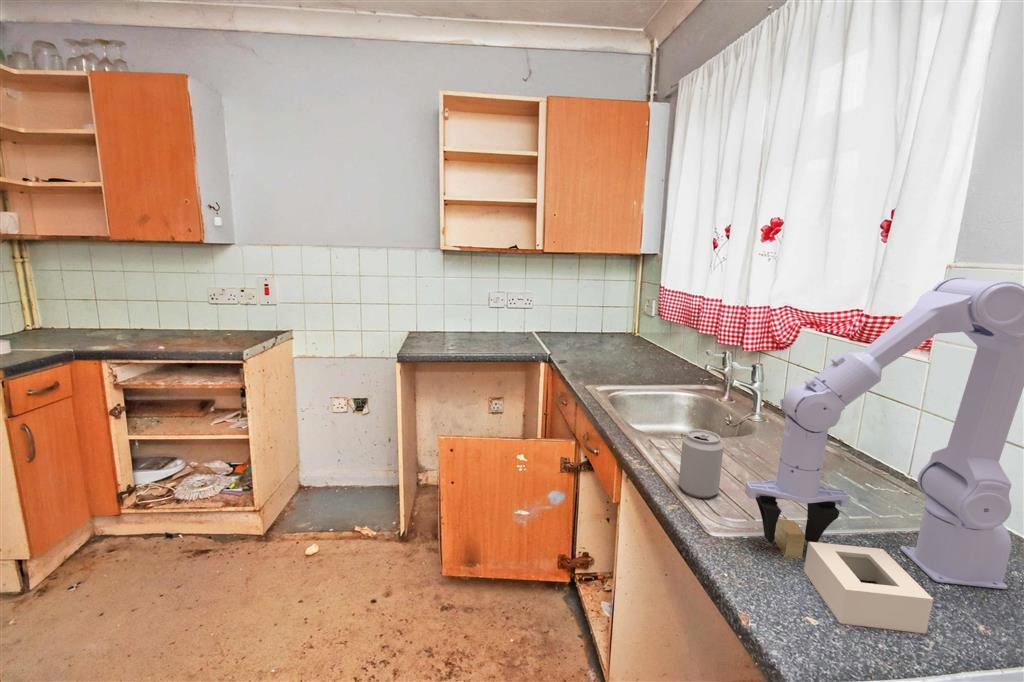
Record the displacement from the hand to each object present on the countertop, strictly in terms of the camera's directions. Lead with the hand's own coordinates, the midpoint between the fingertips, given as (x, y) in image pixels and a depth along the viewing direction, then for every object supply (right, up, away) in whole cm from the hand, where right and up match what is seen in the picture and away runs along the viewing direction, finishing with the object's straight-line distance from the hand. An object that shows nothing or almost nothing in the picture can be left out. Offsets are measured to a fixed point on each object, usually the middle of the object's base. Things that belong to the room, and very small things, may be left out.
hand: (789, 540), depth 75 cm
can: (-7, +2, +18) cm, 20 cm away
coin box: (+3, -4, -11) cm, 12 cm away
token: (0, -1, 0) cm, 2 cm away
